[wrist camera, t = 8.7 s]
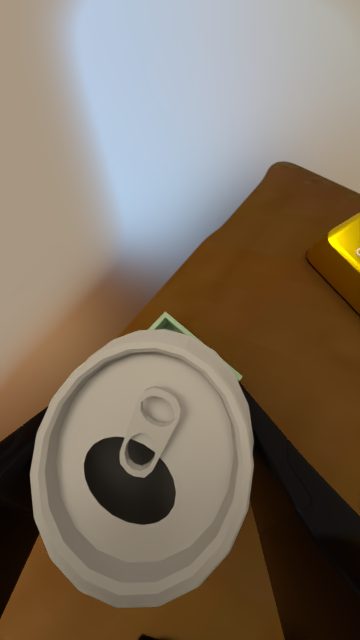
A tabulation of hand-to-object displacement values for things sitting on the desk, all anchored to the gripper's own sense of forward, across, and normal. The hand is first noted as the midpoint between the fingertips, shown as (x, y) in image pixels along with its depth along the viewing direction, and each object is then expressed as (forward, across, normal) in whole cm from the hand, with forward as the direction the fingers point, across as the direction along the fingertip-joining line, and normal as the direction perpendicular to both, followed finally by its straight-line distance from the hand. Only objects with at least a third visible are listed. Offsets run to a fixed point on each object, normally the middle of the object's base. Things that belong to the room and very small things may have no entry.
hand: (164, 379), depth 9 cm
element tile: (+21, -31, -3) cm, 38 cm away
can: (+4, 0, +6) cm, 7 cm away
